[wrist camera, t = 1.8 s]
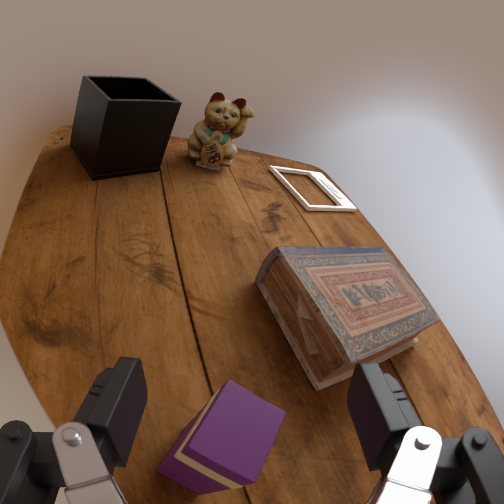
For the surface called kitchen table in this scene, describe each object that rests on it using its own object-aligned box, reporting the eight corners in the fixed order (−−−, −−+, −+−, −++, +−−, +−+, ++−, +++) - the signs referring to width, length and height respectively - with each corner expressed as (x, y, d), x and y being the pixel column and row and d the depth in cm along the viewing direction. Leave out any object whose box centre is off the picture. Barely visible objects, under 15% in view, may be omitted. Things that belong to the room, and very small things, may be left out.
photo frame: (357, 208, 73) (309, 206, 62) (355, 211, 74) (307, 210, 62) (321, 172, 80) (270, 165, 69) (319, 175, 81) (268, 169, 70)
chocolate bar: (199, 495, 19) (255, 484, 13) (155, 470, 20) (185, 446, 13) (225, 450, 23) (287, 411, 17) (185, 426, 24) (228, 377, 17)
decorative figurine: (185, 167, 55) (214, 92, 46) (179, 147, 61) (204, 79, 52) (232, 175, 60) (264, 107, 51) (222, 155, 65) (250, 93, 57)
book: (443, 319, 41) (346, 367, 27) (415, 344, 45) (309, 397, 31) (382, 242, 51) (267, 241, 37) (361, 269, 55) (245, 279, 41)
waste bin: (92, 181, 42) (108, 100, 34) (69, 144, 46) (82, 75, 39) (158, 171, 51) (182, 102, 43) (128, 138, 55) (146, 77, 48)
